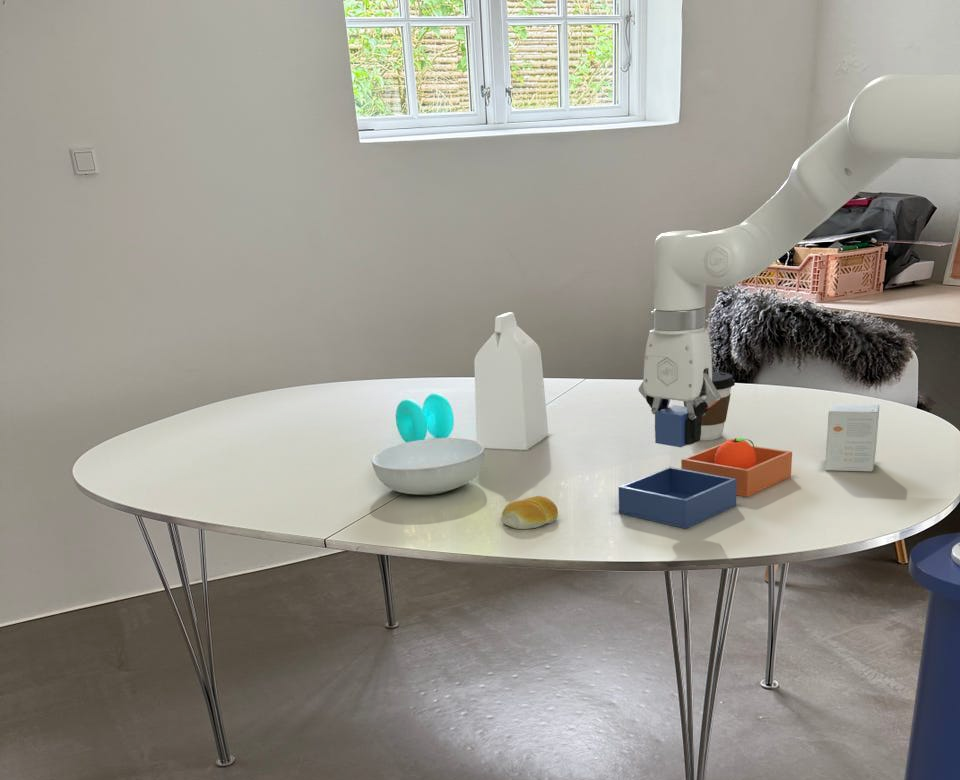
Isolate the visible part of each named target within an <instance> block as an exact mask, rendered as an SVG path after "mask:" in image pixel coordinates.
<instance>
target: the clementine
mask: <svg viewBox="0 0 960 780" xmlns="http://www.w3.org/2000/svg"><path fill="white" fill-rule="evenodd" d="M747 441H749V442H750V443H749V442H747ZM722 443H723V444H722ZM722 443H721V444H722V445H721V446H720V447H719V448H718V450H717V452H716V454H715V459H714V460H715V464H719V465H725V466H731V467H736V468H742V469H749V468H751V467H753V466H754V465H755V461H756V454H755V451H754V449H753V447H754V446H755V444H754V442H753V440H751V439H748V438H743V437H738V438H737V437H736V438H732V439H728V440H726V441H724V442H722ZM752 446H753V447H752Z"/></svg>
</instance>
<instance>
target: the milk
mask: <svg viewBox="0 0 960 780" xmlns="http://www.w3.org/2000/svg"><path fill="white" fill-rule="evenodd" d="M494 320H495V321H494V332H493V333H492V335H490V337H489V338H488V339H487V340H486V341H485V342H484V344H483V345H482V347H480V349H479V350H478V351H477V353H476V355H475V357H474V362H473V363H474V366H473V367H474V396H475V397H474V398H475V427H476V428H475V432H476V433H475V435H476V441H477V442H479V443H481V444H482V445H483V446H484V448H485V449H494V450H495V449H496V450H516V451H518V450H519V451H528V450H529V449H531V448H532V447H533V446H535V445H537V444H538V443H539V442H541V441H542V440H544V439H546V438H547V437H548V436H549V427H548V417H547V416H548V415H547V404H546V403H547V402H546V394H545V382H544V381H545V380H544V372H543V362H542V361H543V360H542V352H541V348H540V346H539V345H538V343H537V342H535V340H534V339H533V338H532V337H530V335H528V334H527V333H526V332H525V331H524V330H523V329H522V328H521V327H520V326H518V323H517V319H516V316H515V313H514V312H506V313H505V312H504V313H502V314H500V315H497V316H495V318H494Z"/></svg>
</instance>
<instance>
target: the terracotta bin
mask: <svg viewBox="0 0 960 780" xmlns="http://www.w3.org/2000/svg"><path fill="white" fill-rule="evenodd" d="M723 443H724V442H722V443H719V444H717V445H713V446H712V447H710V448H707V449H705V450H702V451H699V452H697V453H694V454H692V455H688V456H686V457H684V458H682V459H681V460H680V461H681V463H680V464H681V465H680V466H681V467H680V469H685V470H690V471H696V472H701V473H707V474H712V475H718V476H723V477H729V478H734V479H737V490H736V496H738V497H739V496H740V497H744V498H748V497H750V496H752V495H755V494H757V493H760V492H761V491H763V490H766V489H768V488H770V487H772V486H774V485H777V484H778V483H781V482H783V481H785V480H788V479H790V478H791V477H792V465H793V464H792V463H793V451H790V450H783V449H778V448H769V447H763V446H757V445H754V447H753V445H751V446H752V447H753V449H754V451H755V454H756V461H755V465H754V466H753V467H751V468H749V469H742V468H736V467H731V466H725V465H719V464H715V460H714V459H715V454H716V452H717V450H718V448H719V447H720V446H721V445H722V444H723Z"/></svg>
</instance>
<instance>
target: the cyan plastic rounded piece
mask: <svg viewBox="0 0 960 780" xmlns="http://www.w3.org/2000/svg"><path fill="white" fill-rule="evenodd" d="M395 423H396V424H395V425H396V428H397V431H398V433H399V436H400V437H401V439H402V440H403V441H404V443H407V442H412V441H418V440H425V439H426V436H427V433H429V434H430V435H431V436H432V437H434V439H436V438H449V436H450V435H451V434H452V432H453V429H454V425H455V418H454V412H453V408H452V406H451V404H450V402H449V401H448V399H447V398H446V397H445V396H444V395H443V394H441V393H438V392H433V393H430V394H429V395H427V396H426V398H425V399H424V401H423V403H422V406H421V405H420V404H419V403H418V402H417V401H416V400H414V399H411V398H405V399H403V400H401V401H399V403H398V405H397V407H396V411H395Z"/></svg>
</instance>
